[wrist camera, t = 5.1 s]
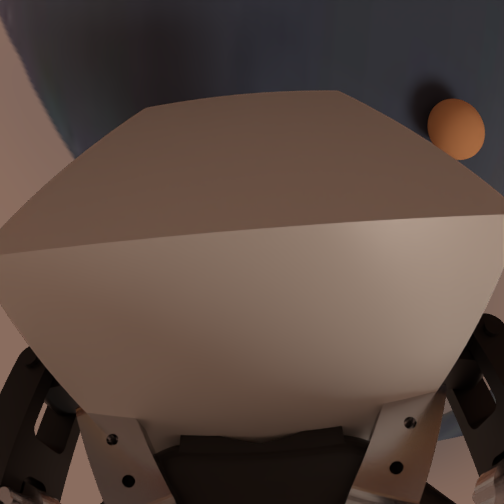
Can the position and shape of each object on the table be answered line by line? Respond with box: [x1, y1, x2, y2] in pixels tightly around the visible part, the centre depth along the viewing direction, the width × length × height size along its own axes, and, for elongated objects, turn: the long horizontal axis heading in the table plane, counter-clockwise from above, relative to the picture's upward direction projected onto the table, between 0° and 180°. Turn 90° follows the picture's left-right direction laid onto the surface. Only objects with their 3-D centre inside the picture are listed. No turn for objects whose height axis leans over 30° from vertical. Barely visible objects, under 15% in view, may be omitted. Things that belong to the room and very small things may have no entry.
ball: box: [428, 99, 485, 160], centre depth 20 cm, size 5×5×5 cm
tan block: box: [0, 91, 504, 453], centre depth 10 cm, size 7×11×9 cm, turn 5°
